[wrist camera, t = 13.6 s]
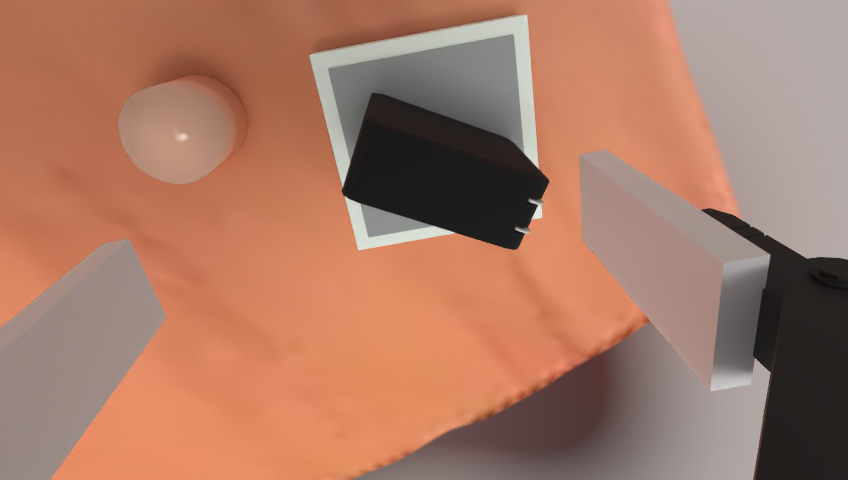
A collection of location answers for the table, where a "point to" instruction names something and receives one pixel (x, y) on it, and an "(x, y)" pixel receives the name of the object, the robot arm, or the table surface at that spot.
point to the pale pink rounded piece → (182, 128)
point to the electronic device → (443, 173)
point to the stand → (429, 98)
